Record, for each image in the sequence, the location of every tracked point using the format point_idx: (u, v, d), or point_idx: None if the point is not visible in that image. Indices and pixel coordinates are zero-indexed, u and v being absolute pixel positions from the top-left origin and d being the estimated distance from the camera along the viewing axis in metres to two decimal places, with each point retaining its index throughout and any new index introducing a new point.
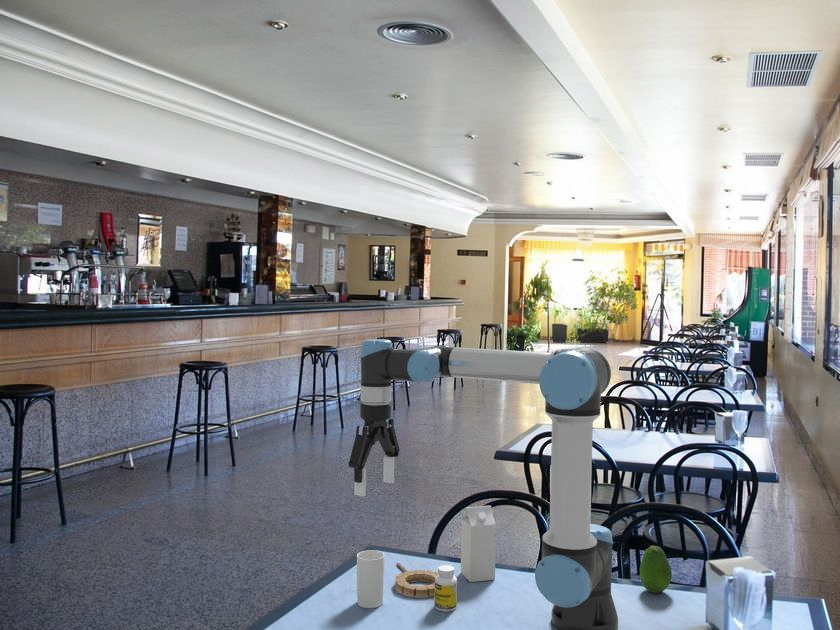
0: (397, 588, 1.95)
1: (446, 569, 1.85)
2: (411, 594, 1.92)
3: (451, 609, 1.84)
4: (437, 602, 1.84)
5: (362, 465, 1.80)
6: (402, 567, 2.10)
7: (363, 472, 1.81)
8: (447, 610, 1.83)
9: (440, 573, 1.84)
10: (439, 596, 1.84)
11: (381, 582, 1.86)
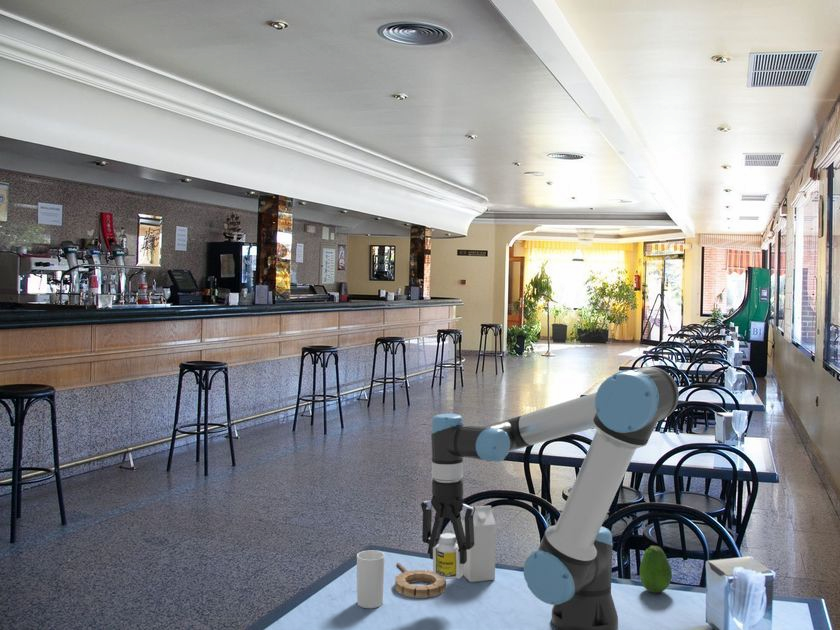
0: (397, 588, 1.95)
1: (448, 536, 1.84)
2: (411, 594, 1.92)
3: (454, 576, 1.83)
4: (440, 570, 1.83)
5: (430, 542, 1.86)
6: (402, 567, 2.10)
7: None
8: (450, 577, 1.83)
9: (442, 540, 1.84)
10: (442, 563, 1.83)
11: (381, 582, 1.86)
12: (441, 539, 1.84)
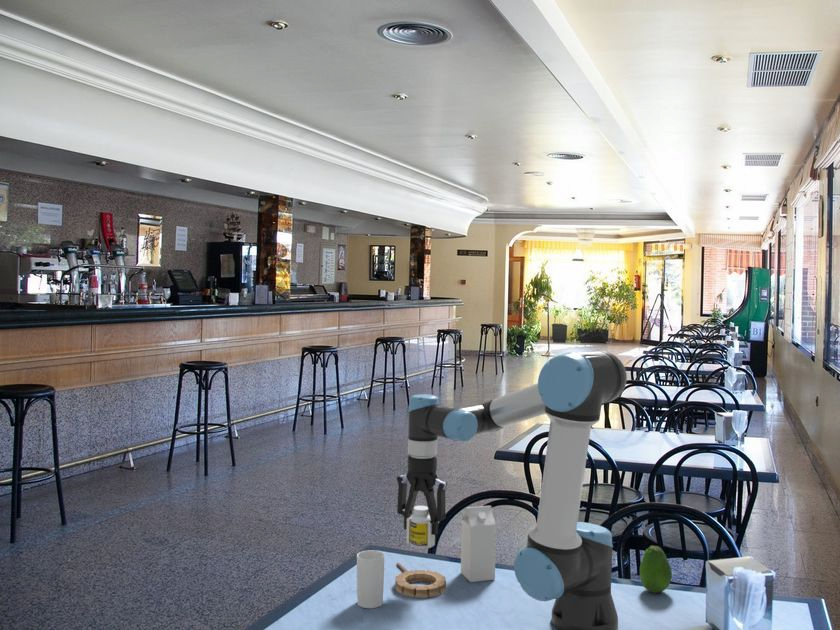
0: (397, 588, 1.95)
1: (421, 508, 1.97)
2: (411, 594, 1.92)
3: (425, 546, 1.96)
4: (413, 539, 1.96)
5: (404, 514, 1.98)
6: (402, 567, 2.10)
7: None
8: (422, 547, 1.95)
9: (415, 512, 1.96)
10: (414, 533, 1.96)
11: (381, 582, 1.86)
12: (414, 511, 1.96)
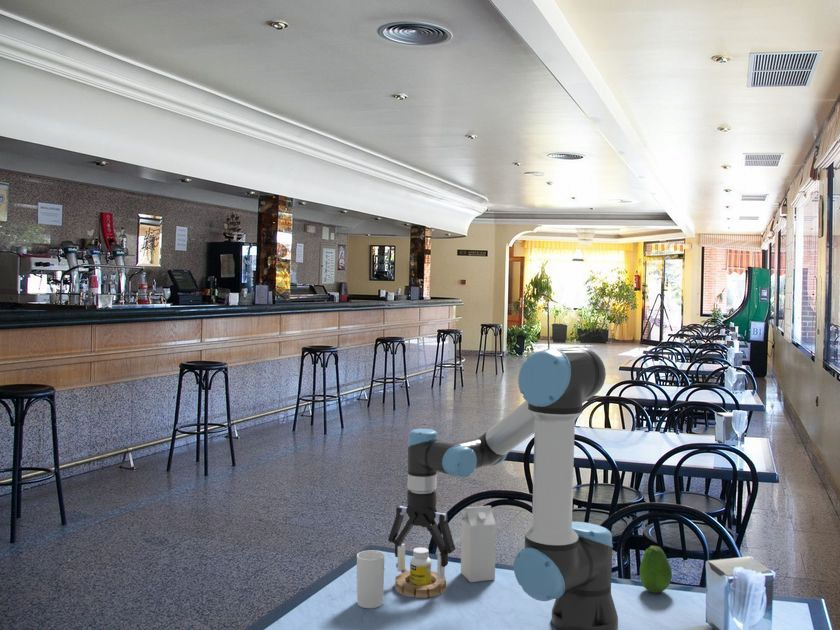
0: (397, 588, 1.95)
1: (420, 551, 1.97)
2: (411, 594, 1.92)
3: None
4: (412, 582, 1.96)
5: (395, 542, 2.00)
6: None
7: None
8: None
9: (415, 555, 1.96)
10: (414, 576, 1.96)
11: (381, 582, 1.86)
12: (414, 553, 1.97)
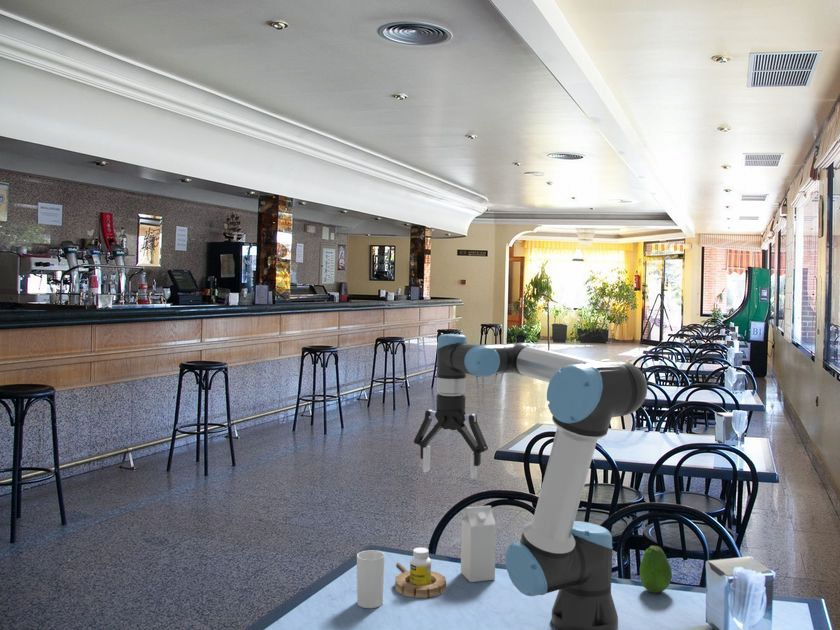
0: (397, 588, 1.95)
1: (420, 551, 1.97)
2: (411, 594, 1.92)
3: None
4: (412, 582, 1.96)
5: (421, 443, 2.02)
6: (402, 567, 2.10)
7: None
8: None
9: (415, 555, 1.96)
10: (414, 576, 1.96)
11: (381, 582, 1.86)
12: (414, 553, 1.97)
